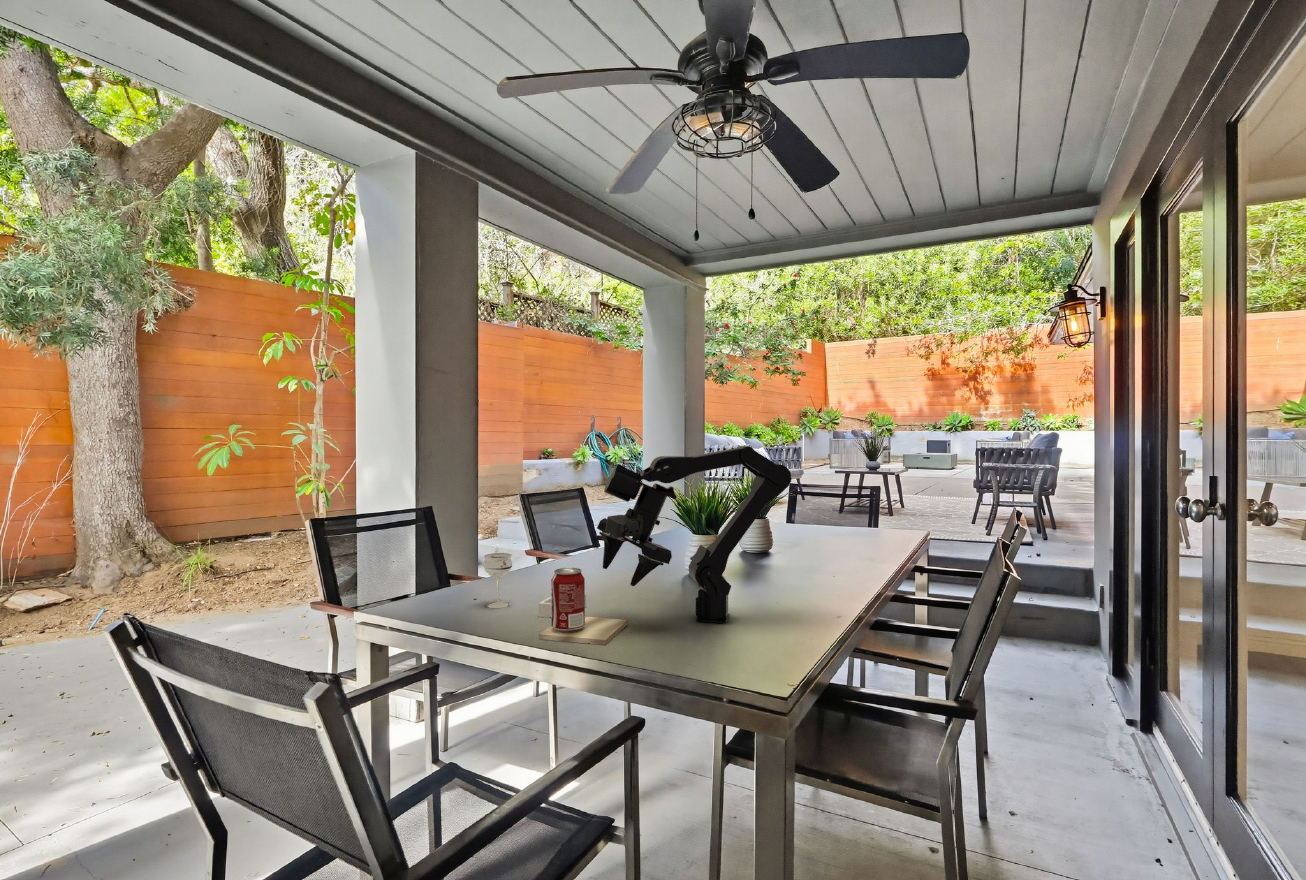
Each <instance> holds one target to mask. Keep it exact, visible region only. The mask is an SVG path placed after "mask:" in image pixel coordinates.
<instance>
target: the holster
mask: <svg viewBox="0 0 1306 880" xmlns="http://www.w3.org/2000/svg"><path fill="white" fill-rule="evenodd" d="M537 607H538V609H537V610H538V612H537V613H538V616H537V617H541V618H550V617H551V619H552V614H551V595H550V596H548V597H547V598H545V599H544V600H542V601H540V602H538V606H537ZM585 608H587V593H585Z"/></svg>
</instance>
